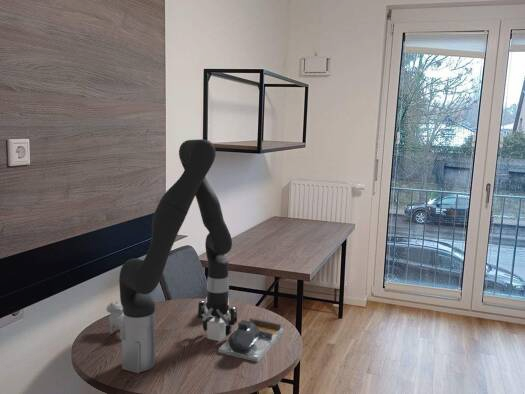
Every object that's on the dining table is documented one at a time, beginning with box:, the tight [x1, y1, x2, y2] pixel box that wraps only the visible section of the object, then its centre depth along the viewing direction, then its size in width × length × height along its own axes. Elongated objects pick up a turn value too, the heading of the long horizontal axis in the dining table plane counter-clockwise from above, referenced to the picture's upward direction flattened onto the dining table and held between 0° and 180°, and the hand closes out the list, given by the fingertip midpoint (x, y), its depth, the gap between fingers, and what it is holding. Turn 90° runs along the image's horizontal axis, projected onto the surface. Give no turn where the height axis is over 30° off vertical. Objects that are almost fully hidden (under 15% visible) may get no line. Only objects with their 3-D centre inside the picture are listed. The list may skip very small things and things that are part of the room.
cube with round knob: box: [206, 316, 227, 342], centre depth 168 cm, size 5×5×8 cm
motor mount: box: [218, 317, 285, 363], centre depth 164 cm, size 24×14×10 cm, turn 157°
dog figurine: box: [106, 301, 124, 341], centre depth 168 cm, size 5×13×11 cm, turn 48°
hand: (216, 332), depth 168 cm, fingers open, 8 cm apart
